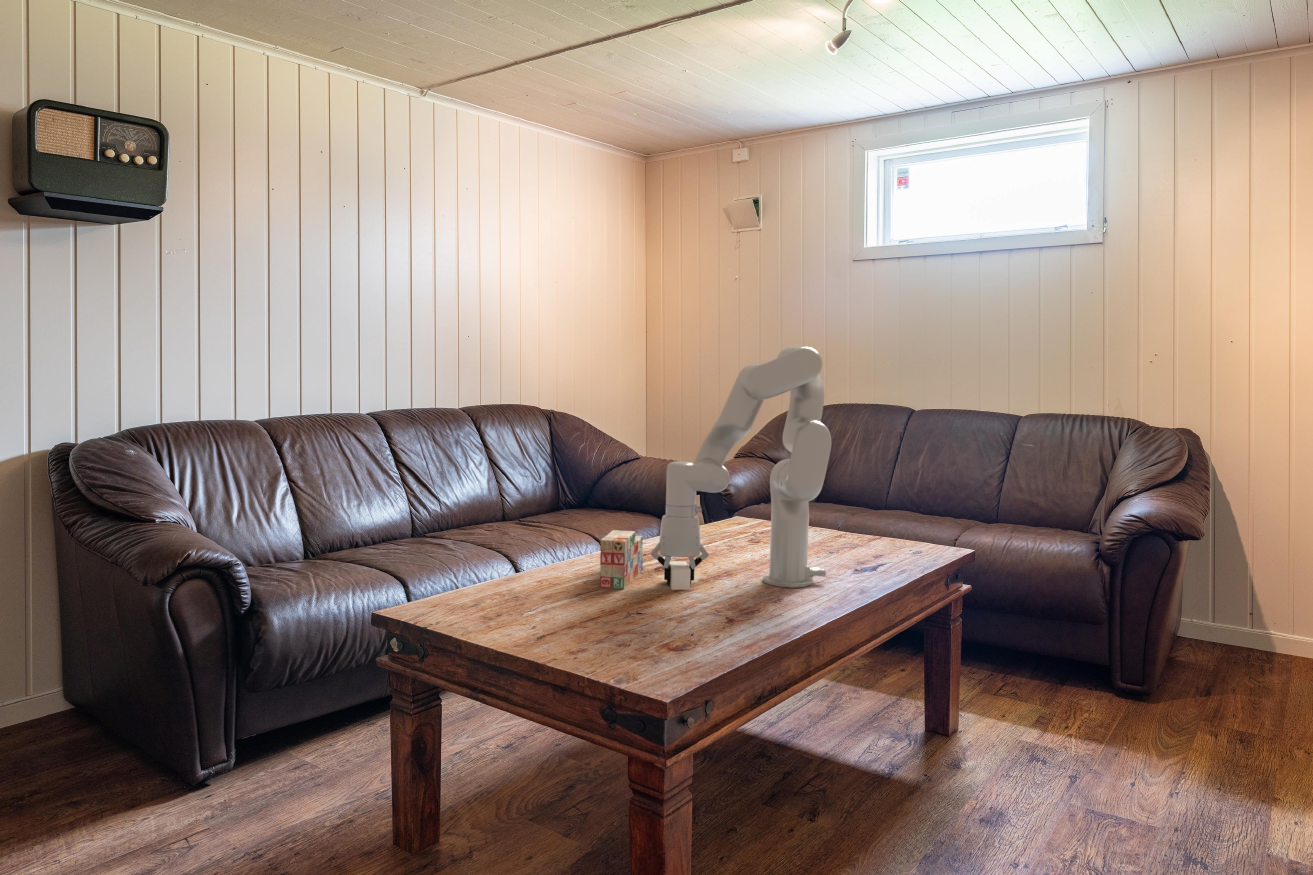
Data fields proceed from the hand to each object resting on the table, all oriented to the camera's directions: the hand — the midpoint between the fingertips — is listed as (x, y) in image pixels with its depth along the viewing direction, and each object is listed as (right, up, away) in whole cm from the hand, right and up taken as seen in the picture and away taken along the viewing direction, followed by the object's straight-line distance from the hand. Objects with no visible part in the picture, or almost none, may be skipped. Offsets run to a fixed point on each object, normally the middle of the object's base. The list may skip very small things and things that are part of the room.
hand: (679, 582), depth 218 cm
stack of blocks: (-15, 0, +6) cm, 16 cm away
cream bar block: (0, -1, 0) cm, 1 cm away
